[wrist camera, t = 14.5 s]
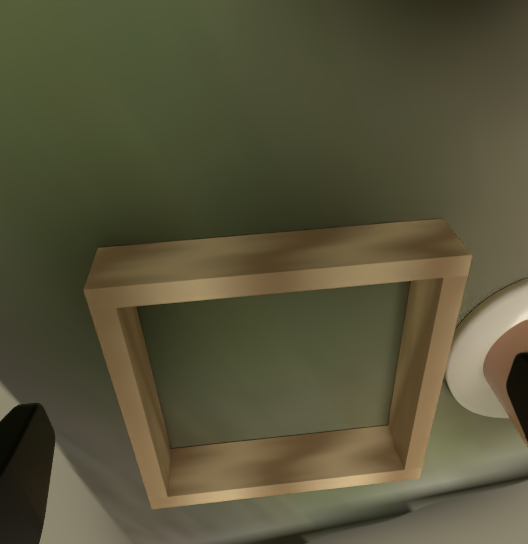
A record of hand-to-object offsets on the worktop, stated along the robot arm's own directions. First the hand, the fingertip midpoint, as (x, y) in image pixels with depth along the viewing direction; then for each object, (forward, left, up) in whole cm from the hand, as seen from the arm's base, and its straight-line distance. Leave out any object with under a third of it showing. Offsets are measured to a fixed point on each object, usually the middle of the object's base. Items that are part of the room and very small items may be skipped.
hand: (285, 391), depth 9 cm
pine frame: (-1, +11, -12) cm, 16 cm away
